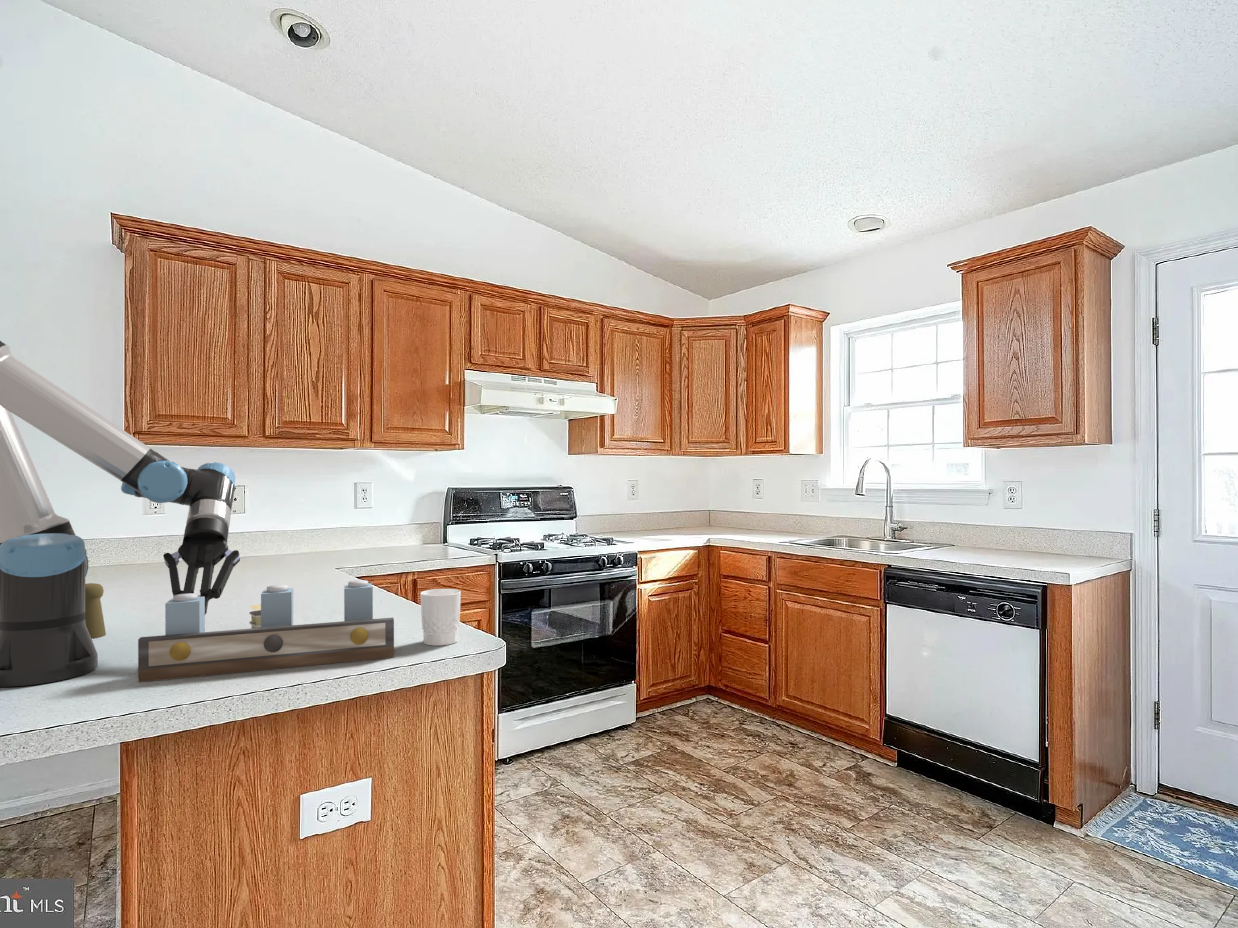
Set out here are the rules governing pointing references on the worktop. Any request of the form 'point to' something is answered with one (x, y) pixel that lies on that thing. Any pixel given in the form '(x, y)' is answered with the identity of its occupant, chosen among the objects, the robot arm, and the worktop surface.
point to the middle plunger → (277, 606)
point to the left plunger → (185, 614)
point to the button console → (263, 648)
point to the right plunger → (358, 600)
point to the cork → (94, 610)
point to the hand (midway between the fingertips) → (190, 629)
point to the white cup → (440, 616)
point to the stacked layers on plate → (255, 616)
